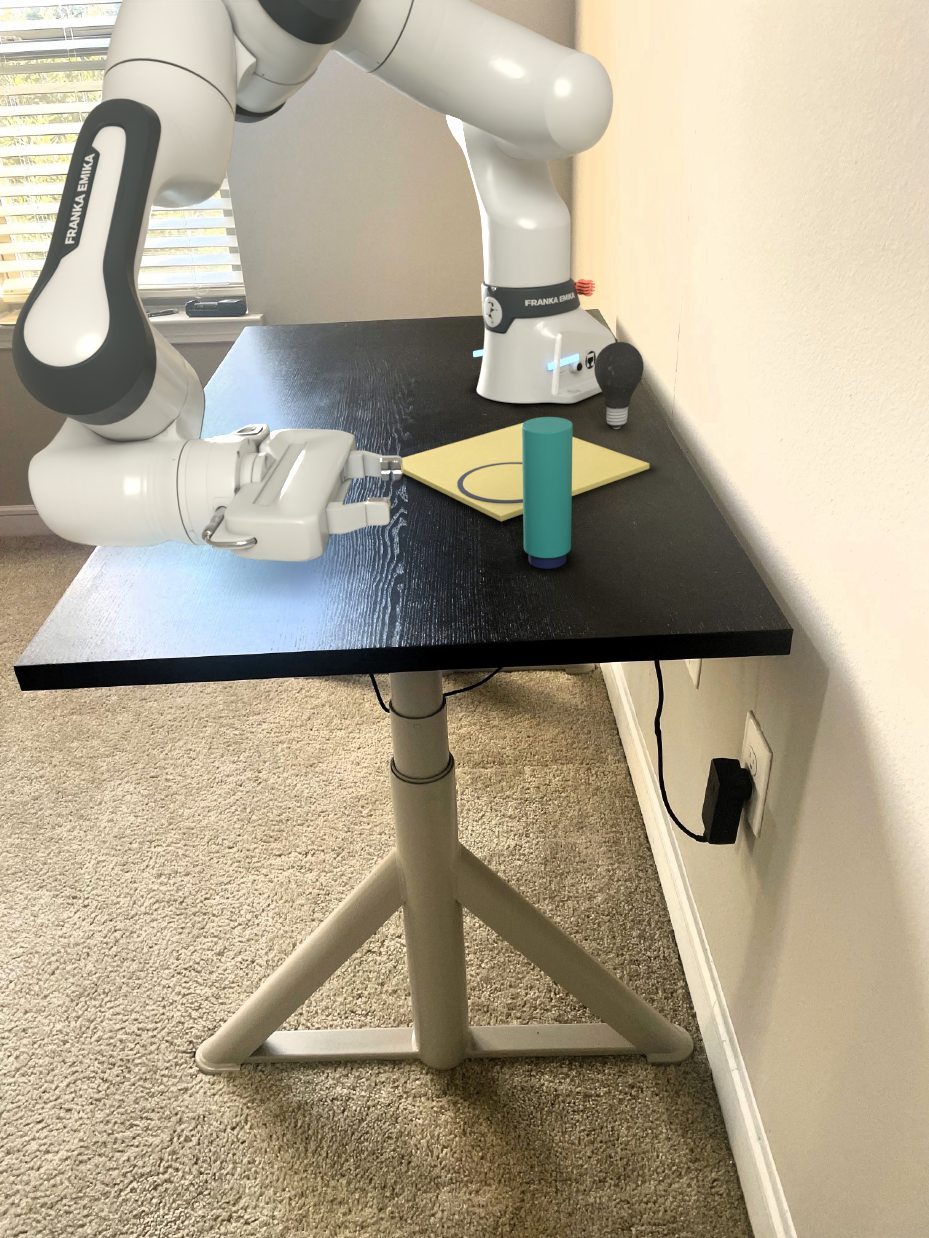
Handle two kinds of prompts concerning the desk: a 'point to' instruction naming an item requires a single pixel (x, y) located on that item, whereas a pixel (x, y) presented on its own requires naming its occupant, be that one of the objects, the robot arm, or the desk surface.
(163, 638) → the desk surface
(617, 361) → the light bulb
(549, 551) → the cylinder
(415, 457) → the writing pad
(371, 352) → the desk surface
